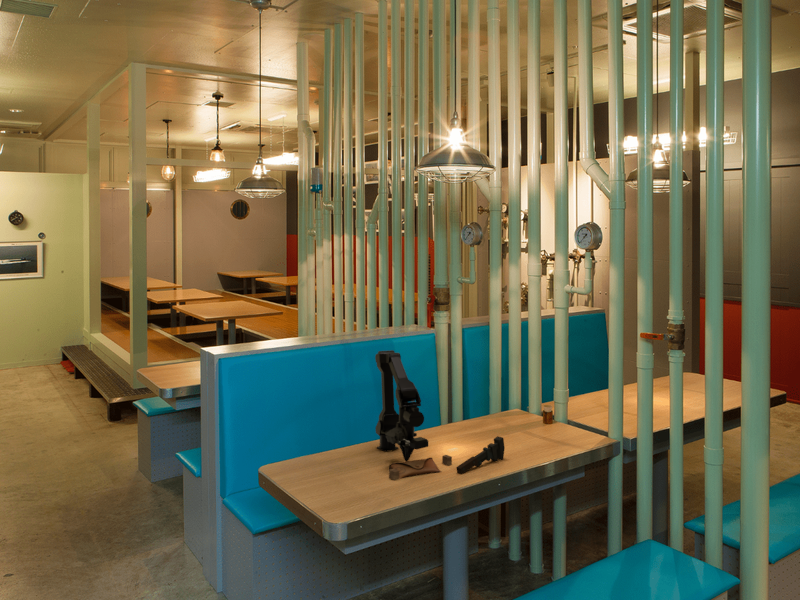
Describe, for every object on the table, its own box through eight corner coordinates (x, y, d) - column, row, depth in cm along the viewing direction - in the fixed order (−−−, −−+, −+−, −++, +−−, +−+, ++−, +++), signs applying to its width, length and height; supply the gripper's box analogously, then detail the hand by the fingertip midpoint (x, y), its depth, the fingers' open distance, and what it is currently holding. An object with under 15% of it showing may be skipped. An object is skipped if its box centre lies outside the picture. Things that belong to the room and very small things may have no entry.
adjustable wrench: (458, 485, 235) (500, 456, 252) (463, 487, 233) (505, 457, 250) (455, 463, 233) (497, 436, 250) (460, 465, 231) (503, 437, 248)
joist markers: (389, 478, 228) (389, 469, 228) (446, 462, 245) (446, 454, 245) (394, 480, 226) (394, 472, 226) (451, 464, 243) (451, 456, 242)
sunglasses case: (398, 479, 227) (394, 460, 229) (391, 483, 233) (387, 465, 235) (443, 471, 235) (438, 453, 237) (435, 476, 240) (430, 458, 243)
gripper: (374, 417, 242) (374, 458, 244) (405, 429, 228) (405, 472, 229) (397, 413, 249) (397, 452, 251) (429, 423, 235) (429, 466, 236)
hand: (406, 460), depth 242 cm, fingers closed
